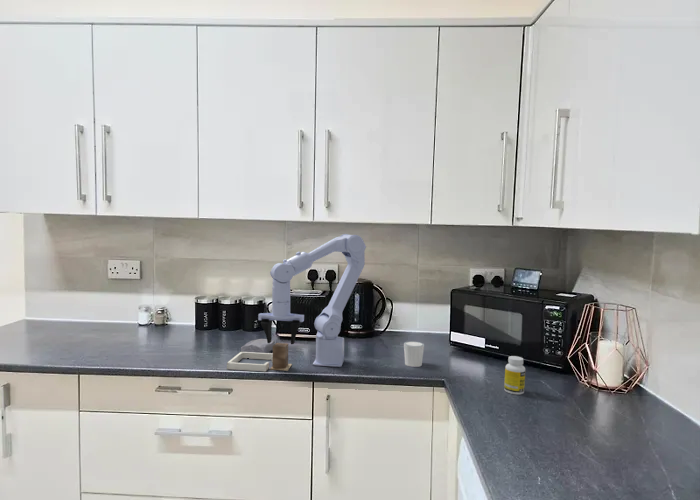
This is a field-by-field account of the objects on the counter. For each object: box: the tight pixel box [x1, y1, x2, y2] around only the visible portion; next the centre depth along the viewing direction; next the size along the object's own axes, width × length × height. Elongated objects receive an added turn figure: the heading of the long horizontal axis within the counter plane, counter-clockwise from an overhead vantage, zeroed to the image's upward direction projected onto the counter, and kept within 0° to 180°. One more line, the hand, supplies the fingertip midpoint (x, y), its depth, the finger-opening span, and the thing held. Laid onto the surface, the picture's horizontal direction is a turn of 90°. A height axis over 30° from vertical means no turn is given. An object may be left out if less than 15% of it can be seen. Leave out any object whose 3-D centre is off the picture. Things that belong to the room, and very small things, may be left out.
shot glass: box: [403, 341, 425, 368], centre depth 151 cm, size 7×7×7 cm
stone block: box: [240, 338, 276, 353], centre depth 162 cm, size 12×5×10 cm
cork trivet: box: [269, 363, 293, 372], centre depth 145 cm, size 6×6×1 cm
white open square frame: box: [226, 351, 273, 373], centre depth 147 cm, size 13×13×2 cm
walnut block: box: [271, 342, 289, 369], centre depth 145 cm, size 4×4×7 cm
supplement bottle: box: [503, 355, 526, 395], centre depth 128 cm, size 5×5×10 cm
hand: (281, 342), depth 145 cm, fingers open, 7 cm apart
